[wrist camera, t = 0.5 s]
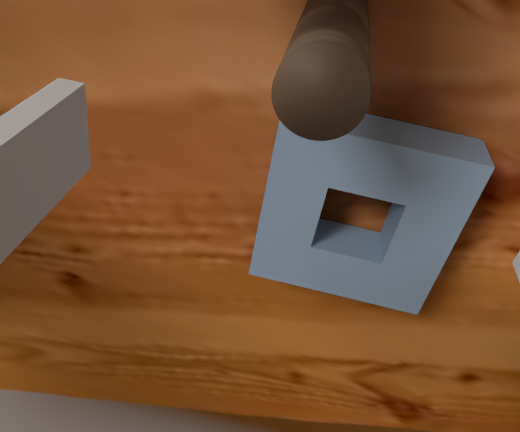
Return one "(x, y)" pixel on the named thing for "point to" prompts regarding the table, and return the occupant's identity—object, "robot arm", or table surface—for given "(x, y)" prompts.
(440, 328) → the table surface
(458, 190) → the socket block
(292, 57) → the peg
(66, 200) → the table surface
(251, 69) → the table surface
